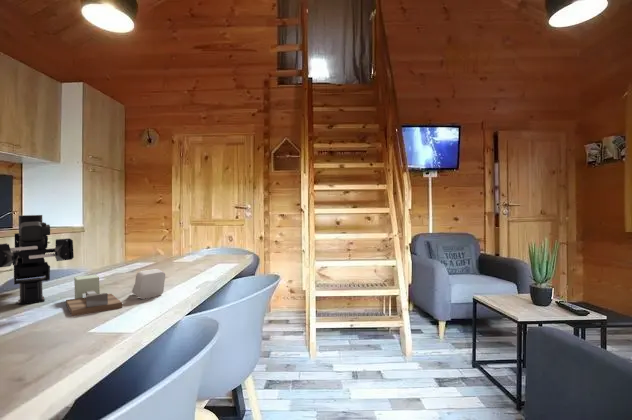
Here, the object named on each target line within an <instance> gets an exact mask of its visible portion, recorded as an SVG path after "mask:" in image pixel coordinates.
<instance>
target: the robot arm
mask: <svg viewBox="0 0 632 420" xmlns="http://www.w3.org/2000/svg"><path fill="white" fill-rule="evenodd" d="M17 217H18V233H14V247H10V244H8V243H6V242H5V243H0V268H1V269H2V268H8V267H11V266H13V285H18V284H19V299H17V301H18V302H17V303H18V305H24V304H32V303H39V302H45V297H44V296H43V294H44V293H43V282H47V281H48V282H49V281H50V280H51V266H50V265H49V263H48V261H46V260H45V258H52V257H55V260H56V262H60V261H61V262H62V261H71V260H73V259H74V258H75V256H74V241H73V239H72V238H69V237H68V238H59V239H55V247H54V248H53V247H52V248H48V241H49V240H48V239H49V236H51V225H50V224H47V223H46V222H43V214H31V215H30V214H28V215H27V214H26V215H25V214H24V215H22V214H20V215H18V216H17Z"/></svg>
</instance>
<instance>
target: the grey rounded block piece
mask: <svg viewBox="0 0 632 420" xmlns="http://www.w3.org/2000/svg"><path fill="white" fill-rule="evenodd" d="M165 281H166V273H165V272H164V271H162V270H161V269H159V268H153V269H147V270H145V269H143V270H140V271H138V272H137V273H136V274H135V280H134V284H133V287H132V289H131V292H132V294H133V295H135V296H136V297H138V298H139V299H141V300H146V299H151V298H154V297H159V295H160V296H161V295H162V294H163V293H164V290H165V289H164V288H165ZM145 298H146V299H145Z"/></svg>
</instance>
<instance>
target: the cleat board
mask: <svg viewBox="0 0 632 420" xmlns="http://www.w3.org/2000/svg"><path fill="white" fill-rule="evenodd" d="M65 302H66V303H65V306H66V308H67V309H68V311H69V312H70V316H72V317H74V316H80V315H86V314H92V313H98V312H104V311H110V310H115V309H116V310H117V309H122V308H123V302H122V301H121V300H119V298H117V297H116V296H114V294H113V293H107V292H103V293H100V294H97V293H96V292H95V291H94V290H92V291H86V293H85V297H84V296H83V298H77V299H75V298H71V299H66V300H65Z"/></svg>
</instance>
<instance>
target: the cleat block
mask: <svg viewBox="0 0 632 420" xmlns="http://www.w3.org/2000/svg"><path fill="white" fill-rule="evenodd" d="M73 279H74V282H73V283H74V299H77V298H84V294H86V291H92V290H94V291H95V292H96V293H97V294H101V292H100V291H101V290H100V288H101V287H100V276H99V275H97V274H91V275H80V276H74V278H73Z"/></svg>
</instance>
